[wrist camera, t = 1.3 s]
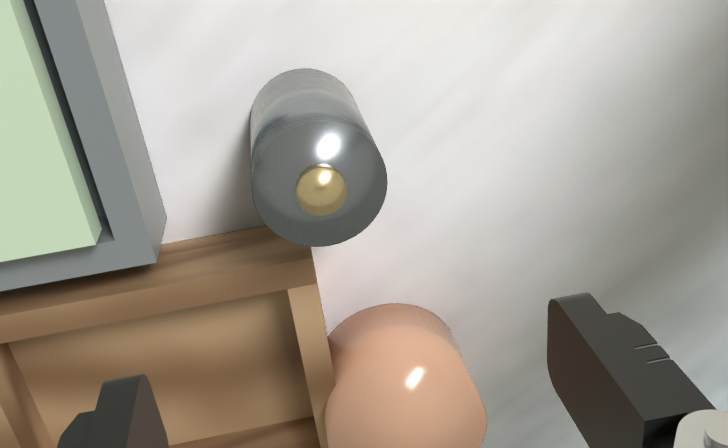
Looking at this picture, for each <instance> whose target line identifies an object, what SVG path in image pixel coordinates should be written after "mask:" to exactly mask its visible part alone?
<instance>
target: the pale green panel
mask: <svg viewBox="0 0 728 448" xmlns="http://www.w3.org/2000/svg"><path fill="white" fill-rule="evenodd" d="M101 230H102V228H101V225H100V222H99V219H98V216H97V213H96V210H95V207H94V204H93V202H92V199H91V196H90V193H89V190H88V187H87V184H86V181H85V178H84V175H83V172H82V170H81V167H80V164H79V161H78V158H77V155H76V152H75V149H74V146H73V143H72V140H71V138H70V135H69V132H68V129H67V126H66V123H65V120H64V117H63V114H62V111H61V109H60V106H59V103H58V100H57V97H56V94H55V91H54V88H53V85H52V82H51V79H50V77H49V74H48V71H47V68H46V65H45V62H44V59H43V56H42V53H41V50H40V47H39V45H38V42H37V39H36V36H35V33H34V30H33V27H32V24H31V21H30V18H29V15H28V13H27V10H26V7H25V4H24V1H23V0H0V262H3V261H9V260H14V259H20V258H26V257H31V256H37V255H42V254H48V253H53V252H59V251H64V250H70V249H75V248H81V247H86V246H92V245H96V243H97V240H98V238H99V235H100V233H101Z"/></svg>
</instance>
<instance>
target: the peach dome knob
mask: <svg viewBox="0 0 728 448" xmlns="http://www.w3.org/2000/svg"><path fill="white" fill-rule="evenodd" d="M328 343H329V349H330V355H331V360H332V366H333V371H334V377H335V383H336V386H335V387H334V389H333V391H332V393H331V394H330V397H329V399H328V402H327V405H326V409H325V427H326V434H327V441H328V447H329V448H480V446H481V444H482V442H483V439H484V436H485V432H486V427H487V416H486V410H485V407H484V404H483V402H482V399H481V397H480V395H479V393H478V391H477V388H476V386H475V384H474V382H473V379H472V377H471V375H470V373H469V371H468V368H467V366H466V364H465V362H464V359H463V357H462V355H461V353H460V351H459V348H458V346H457V344H456V342H455V339H454V337H453V335H452V333H451V331H450V329H449V328H448V327H447V325H446V324H445V323H444V322H443V321H442V320H441V319H440V318H439V317H438V316H436V315H435V314H433V313H432V312H430V311H428V310H426V309H423V308H421V307H418V306H414V305H409V304H399V303H397V304H383V305H378V306H374V307H370V308H367V309H364V310H362V311H360V312H358V313H356V314H354V315H352V316H350V317H349V318H347V319H346V320H344V321H343V322H342V323H341V324H339V325H338V326H337V327H336V328H335V329H334V330H333V331H332V332H331V334H330V335H329V336H328Z"/></svg>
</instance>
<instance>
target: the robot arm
mask: <svg viewBox="0 0 728 448" xmlns="http://www.w3.org/2000/svg"><path fill="white" fill-rule="evenodd" d="M547 363H548V370H549V375H550V378H551V381H552V384H553V387H554V389H555V391H556V393H557V394H558V396H559V397H560V399H561V401H562V402H563V404H564V406H565V407H566V409H567V411H568V412H569V414H570V416H571V417H572V419H573V421H574V422H575V424H576V426H577V427H578V429H579V431H580V432H581V434H582V436H583V437H584V439H585V441H586V442H587V444H588V446H589V447H590V448H728V412H727V411H722V410H716V409H715V407H714V406H713V405H712V404H711V403H710V402H709V401H708V400H707V398H706V397H705V396H704V395H703V394H702V393H701V392H700V390H699V389H698V388H697V387H696V386H695V385H694V384H693V382H692V381H691V380H690V379H689V378H688V377H687V376H686V375H685V373H684V372H683V371H682V370H681V369H680V368H679V367H678V365H677V364H676V363H675V362H674V361H673V360H670V357H669V355H668V354H667V353H666V352H665V351H664V350H663V348H662V347H661V346H658V345H657V342H656V341H655V339H654V338H653V337H652V336H651V335H650V334H649V333H648V331H647V330H646V329H645V328H644V327H643V326H642V325H641V324H639V323H637V322H635V321H634V320H632V319H630V318H628V317H627V316H625V315H623V314H621V313H619V312H618V313H612V314H607V313H606V312H605V311H604V310H603V309H602V307H601V306H600V305H599V304H598V303H597V301H596V300H595V299H594V298H593V297H592V296H591V295H590V294H589V293H582V294H576V295H571V296H566V297H560V298H555V299H551V300H550V301H549V304H548V337H547ZM57 448H169V444H168V438H167V434H166V431H165V428H164V425H163V422H162V419H161V415H160V412H159V409H158V406H157V403H156V400H155V397H154V394H153V391H152V388H151V385H150V382H149V380H148V378H147V376H146V375H145V374H140V375H135V376H130V377H124V378H119V379H114V380H108V381H105V382H103V384H102V387H101V390H100V394H99V397H98V401H97V405H96V408H95V410H94V411H89V412H83V413H78V415H77V416H76V417H75V418H74V420H73V421H72V422H71V423H70V425H69V426H68V427H67V428H66V429H65V431H64V432H63V433H62V434H61V436H60V439H59V442H58V445H57Z"/></svg>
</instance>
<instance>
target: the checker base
mask: <svg viewBox="0 0 728 448" xmlns="http://www.w3.org/2000/svg"><path fill="white" fill-rule="evenodd" d="M23 1H24V4H25V7H26V10H27V13H28V15H29V18H30V21H31V24H32V27H33V30H34V33H35V36H36V39H37V42H38V45H39V47H40V50H41V53H42V56H43V59H44V62H45V65H46V68H47V71H48V74H49V77H50V79H51V82H52V85H53V88H54V91H55V94H56V97H57V100H58V103H59V106H60V109H61V111H62V114H63V117H64V120H65V123H66V126H67V129H68V132H69V135H70V138H71V140H72V143H73V146H74V149H75V152H76V155H77V158H78V161H79V164H80V167H81V170H82V172H83V175H84V178H85V181H86V184H87V187H88V190H89V193H90V196H91V199H92V202H93V204H94V207H95V210H96V213H97V216H98V219H99V222H100V225H101V228H102V230H101V233H100V235H99V238H98V240H97V243H96V245H92V246H86V247H81V248H75V249H70V250H64V251H59V252H53V253H48V254H42V255H37V256H31V257H26V258H20V259H14V260H9V261H3V262H0V291H5V290H10V289H16V288H21V287H27V286H32V285H38V284H43V283H48V282H54V281H59V280H65V279H70V278H76V277H81V276H87V275H92V274H97V273H103V272H108V271H114V270H119V269H125V268H130V267H135V266H141V265H146V264H152V263H157V260H158V255H159V251H160V246H161V242H162V237H163V233H164V228H165V224H166V220H167V216H166V213H165V210H164V206H163V203H162V199H161V196H160V192H159V189H158V186H157V182H156V179H155V175H154V172H153V168H152V165H151V161H150V158H149V155H148V151H147V148H146V144H145V141H144V137H143V134H142V131H141V127H140V124H139V120H138V117H137V113H136V110H135V107H134V103H133V100H132V96H131V93H130V89H129V86H128V83H127V79H126V76H125V72H124V69H123V65H122V62H121V59H120V55H119V52H118V48H117V45H116V41H115V38H114V35H113V31H112V28H111V24H110V21H109V17H108V14H107V11H106V7H105V4H104V0H23Z"/></svg>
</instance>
